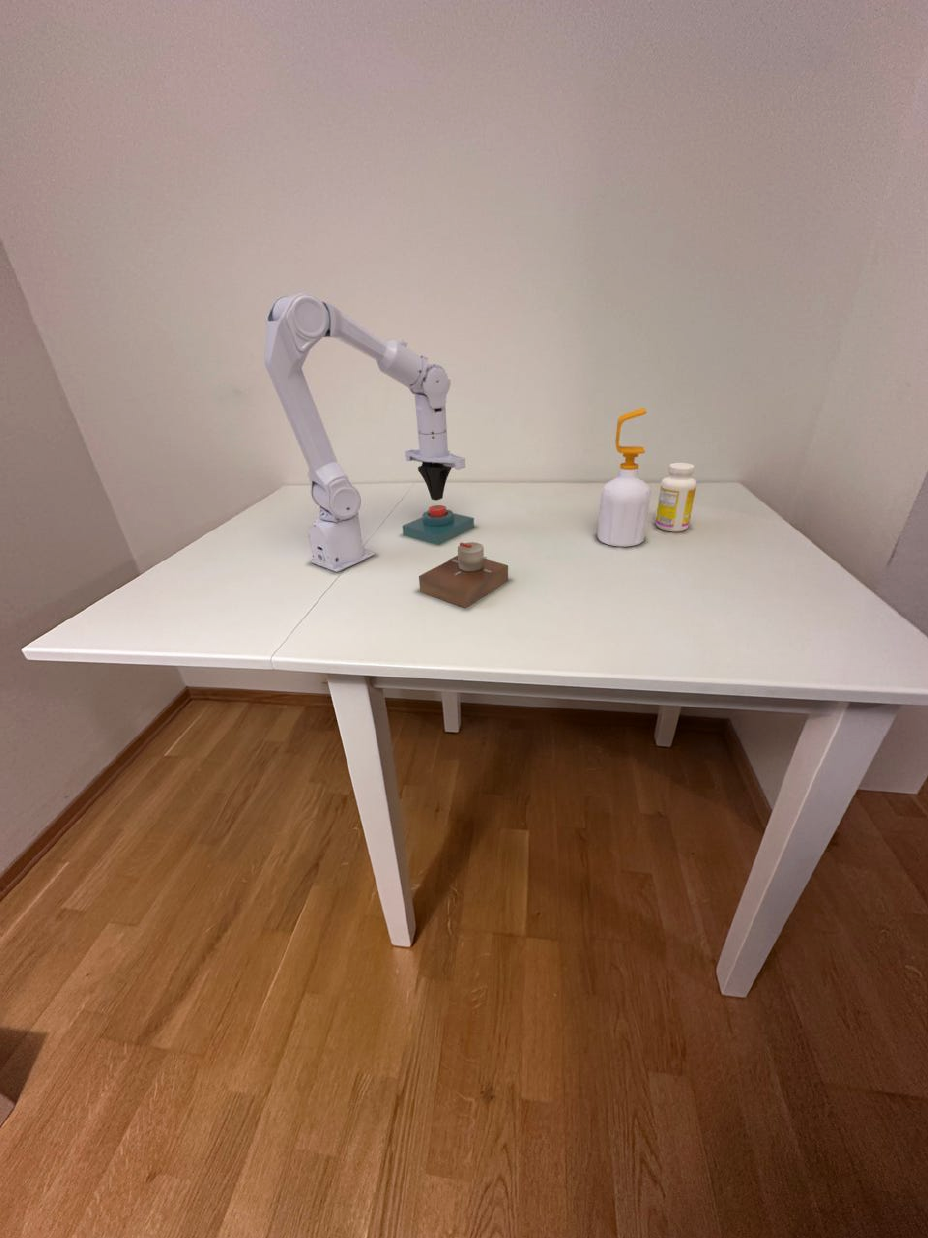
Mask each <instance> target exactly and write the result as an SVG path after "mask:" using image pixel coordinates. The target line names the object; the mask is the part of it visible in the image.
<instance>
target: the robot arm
mask: <svg viewBox="0 0 928 1238" xmlns="http://www.w3.org/2000/svg"><path fill="white" fill-rule="evenodd" d="M264 320H265V325H266V334H265V344H264V345H265V346H264V358H263V359H264V361H263V362H264V366H265V368H266V371H267V372H268V376H269V377H270V380H271V382H272V385H273V387H274V390H275V392H276V394H277V396H278V398H279V399H278V400H279V401H280V403H281V406H282V408H283V411H284V413H285V415H286V418H287V420H288V422H289V425H290V427H291V429H292V431H293V434H294V436H295V439H296V441H297V444H298V446H299V448H300V451H301V453H302V455H303V458H304V460H305V462H306V464H307V467H308V472H307V476H308V479H309V482H310V495H311V498H312V500H313V502H314V503H315V504H316V505H317V506H319V510H318V519H317V520H316V521H315V522H313V523H312V524H310V525H309V526H308V530H307V531H308V532H307V534H308V539H309V540H308V541H309V546H310V549H311V553H312V559H311V563H313V564H314V565H318V566H319V567H323V568H325V569H327V570H330V571H333V572H334V573H335V572H336V573H338V572H341V571H343V570H345V569H347V568H349V567H351V566H354V565H356V564H358V563H360V562H362V561H365V560H367V559H369V558H371V557H373V556H375V553H374V552H372V551H369V550H366V549H364V544H363V538H362V531H361V530H362V529H361V525H360V518H359V517H360V516H359V510H360V508H361V505H362V498H361V497H362V496H361V494H360V492H359V490H358V489H357V488H356V487H355V486H353V484H352V482H351V481H350V479H349V477H348V475H347V473H346V471H345V470H344V469H343V468H342V466H341V465H340V463H339V462H338V459H337V457H336V454H335V452H334V451H335V450H334V449H333V446H332V444H331V442H330V439H329V436H328V433H327V430H326V428H325V426H324V423H323V421H322V418H321V415H320V413H319V411H318V407H317V405H316V403H315V400H314V397H313V395H312V392H311V389H310V386H309V385H308V381H307V379H306V377H305V374H304V371H303V366H304V364H305V362H306V359H307V357H308V355H309V353H310V352H311V349H312V348H314V347H315V346H316V345H317V344H318V343H319V342H320V341H321V340H322V339H323V338H333V339H336V340H339V341H340V342H342V343H344V344H346V345H348V346H349V347H351V348H353V349H355V350H357V351H359V352H360V353H362V354H364V355H367V356H369V358H372V359H373V360H375V361H376V364H377V368H378V370H379V371H380V372H381V373H382V374H384V375H386V376H388V377H389V378H391V379H393V380H395V381H396V382H398V383H400V384H402V385H403V386H405V387H407V389H408V390H409V392H410V393H411V394H412V395H414V403H415V404H414V405H415V412H416V413H415V416H416V427H417V428H416V429H417V439H418V448H419V449H409V450H405V452H404V453H405V461H406V462H411V461H413V462H418V463H422V464H421V465H419V466H417V471H418V472H419V474H420V475H421V477H422V478H423V480H424V482H425V484H426V487H427V489H428V492H429V495H430V499H431V500H432V501H435V502H438V501H440V500H442V499H443V497H444V492H445V486H446V483H447V479H448V477H449V474H450V472H451V471H452V468H454V469H455V470H457V471H460V470H462V469H465V468H466V457H463V456H459V455H456V454H453V453H451V451H450V450H449V446H448V445H449V443H448V428H447V427H448V425H447V411H446V410H447V409H446V405H447V395H448V393H449V391H450V388H451V382H452V381H451V379H449V377H448V373H447V372H446V370H445V368H444V367H442V366H441V365H440V364H436V363H435V364H433V363H429V361H428V359H429V358H428V357H427V356H426V355H424V354H421V355H419V354H418V353H416V351H413V350H412V349H410V348H409V347H407V346H408V342H406V341H405V340H403V339H397V340H396V339H389V340H387V341H384V340H382V339H381V338H380V337H378V336H377V335H375V334H374V333H373V332H372V331H370V330H369V329H367V328H365V326H363V325H361V324H360V323H358V322H357V321H355V320H354V319H353V318H352V317H350V316H349V315H347V314H346V313H344V312H343V311H342V310H340V309H339V308H337V307H336V306H335V305H334V304H331V302H330V303H329V302H327V301H325V300H321V299H320V298H319V297H317V295H315V294H312V293H309V292H299V293H297V294H293V295H281V296H279V297H277V298H276V299H275V300H274V301H273V303H272V305H271V307H270V308H269V311H268V312H267V314H266V316H265V319H264Z"/></svg>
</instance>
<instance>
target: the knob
mask: <svg viewBox="0 0 928 1238" xmlns="http://www.w3.org/2000/svg"><path fill="white" fill-rule="evenodd" d="M484 548H485V547H484V545H483V544H482V543H479V542H459V545H458V546H457V556H458V564H459V568H460V569H461V570H464V571H477V570H480V569H482V568H483V567H484V557H485V549H484Z"/></svg>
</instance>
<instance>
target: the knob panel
mask: <svg viewBox="0 0 928 1238" xmlns="http://www.w3.org/2000/svg"><path fill="white" fill-rule="evenodd" d="M508 581H509V565H508V564H505V563H502V562H498V561H495V560H491V559H488V557H487V556H484V567H483V568H482V569H480V570H477V571H464V570H461V569H460V568H459V564H458V555H455V556H454V557H452V558H450V559H448V560H446V561H445V562H443V563H441V564H439V565H436V566H435V567H433V568H432V569H430V570H427V571H426V572H424V573H422V574H420V575H419V576H418V583H419V592H420V593H423V594H426V595H428V596H431V597H434V598H436V599H439V600H442V601H444V602H447V603H450V604H452V605H455V606H457V607H461V608H463V609H467V608H468V607H469V606H472V605H473V604H474V603H476V602H478V601H479V600H481V599H482V598H483V597H485V596H486V595H489V594H490V593H491V592H493V591H494V590H496V589H498V588H499V587H500V586H502V585H503V584H505V583H507V582H508Z"/></svg>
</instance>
